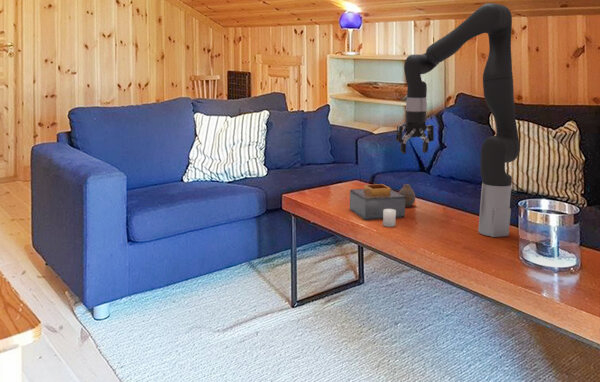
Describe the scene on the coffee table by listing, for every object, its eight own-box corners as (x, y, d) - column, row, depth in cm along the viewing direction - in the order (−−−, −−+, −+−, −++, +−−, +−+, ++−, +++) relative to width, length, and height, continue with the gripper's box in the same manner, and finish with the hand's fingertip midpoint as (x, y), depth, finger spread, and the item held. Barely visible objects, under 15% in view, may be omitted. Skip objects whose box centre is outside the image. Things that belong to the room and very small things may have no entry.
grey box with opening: (404, 217, 201) (405, 189, 199) (364, 220, 197) (365, 192, 195) (383, 204, 220) (384, 179, 217) (346, 207, 215) (347, 181, 213)
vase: (413, 204, 220) (414, 183, 218) (415, 208, 214) (416, 187, 212) (396, 203, 221) (397, 182, 219) (398, 207, 214) (399, 186, 212)
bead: (397, 226, 190) (398, 211, 188) (385, 227, 188) (386, 212, 187) (392, 223, 194) (392, 208, 193) (380, 223, 193) (381, 209, 191)
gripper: (402, 111, 194) (400, 155, 198) (438, 110, 197) (436, 153, 201) (394, 109, 201) (392, 152, 205) (429, 108, 204) (426, 150, 208)
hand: (414, 152), depth 203 cm, fingers open, 8 cm apart
